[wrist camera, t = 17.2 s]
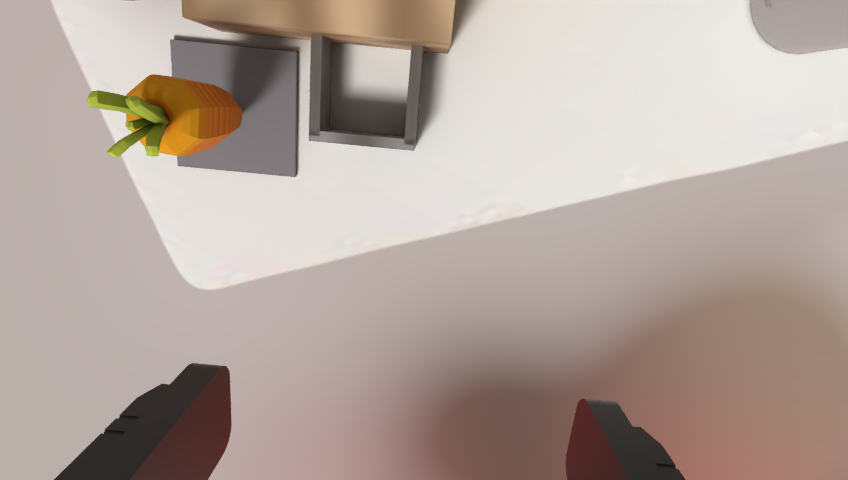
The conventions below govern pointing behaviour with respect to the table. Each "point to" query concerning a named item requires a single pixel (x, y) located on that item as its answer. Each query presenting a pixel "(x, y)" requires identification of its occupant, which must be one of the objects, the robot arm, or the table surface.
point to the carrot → (172, 115)
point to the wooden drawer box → (341, 23)
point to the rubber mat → (246, 104)
